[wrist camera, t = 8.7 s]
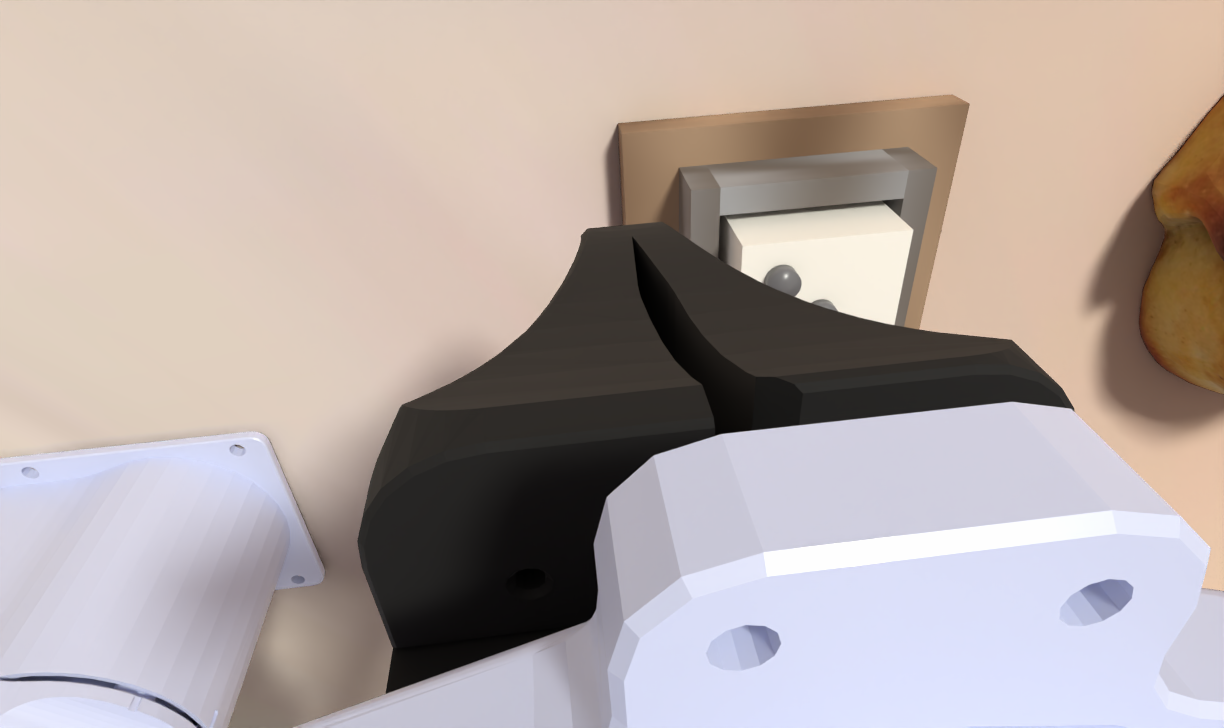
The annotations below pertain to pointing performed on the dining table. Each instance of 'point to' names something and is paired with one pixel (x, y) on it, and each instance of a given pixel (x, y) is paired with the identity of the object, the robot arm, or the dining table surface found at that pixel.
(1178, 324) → the pastry
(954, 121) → the board
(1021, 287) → the dining table surface
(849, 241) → the tile three
